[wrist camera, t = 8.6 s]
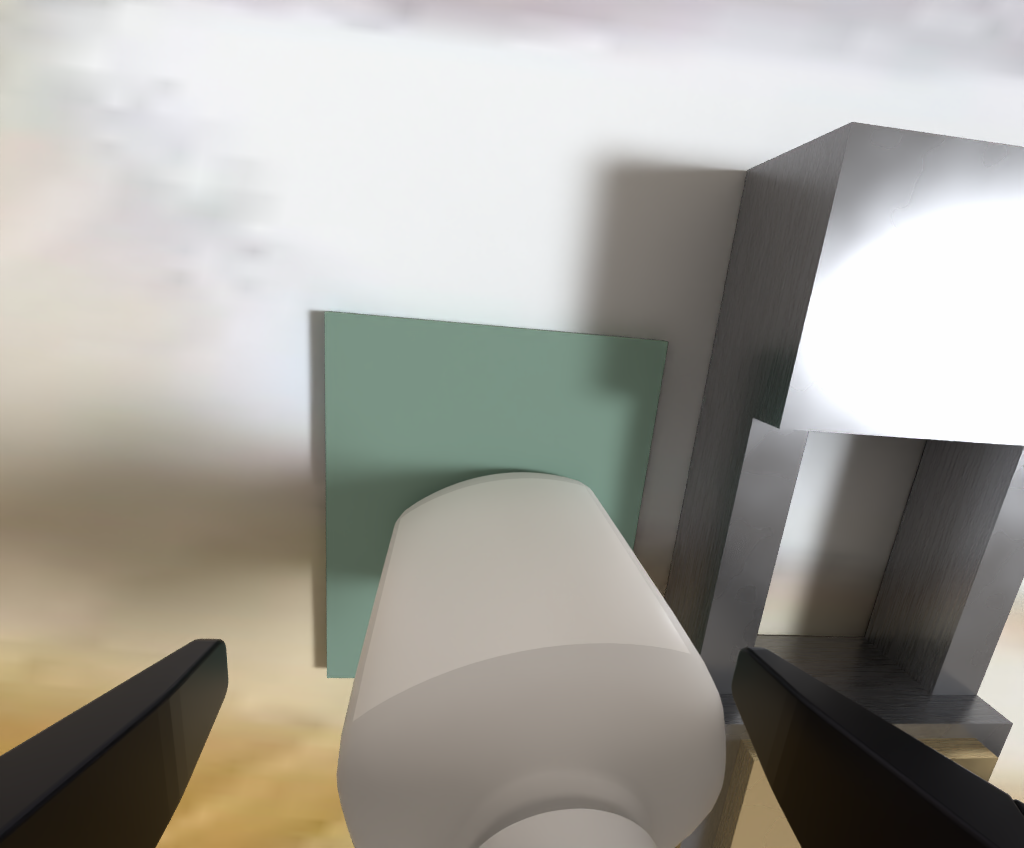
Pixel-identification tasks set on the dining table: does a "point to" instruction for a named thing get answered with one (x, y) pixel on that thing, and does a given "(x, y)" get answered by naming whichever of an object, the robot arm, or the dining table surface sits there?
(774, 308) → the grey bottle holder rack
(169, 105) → the dining table surface
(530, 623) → the eye dropper bottle
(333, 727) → the dining table surface
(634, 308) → the dining table surface
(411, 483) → the mat
